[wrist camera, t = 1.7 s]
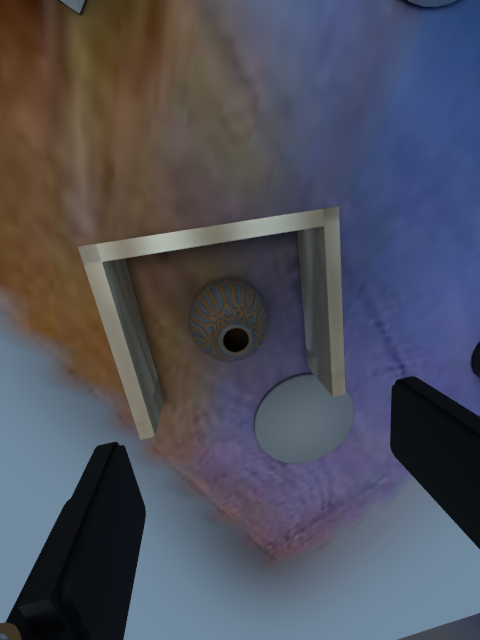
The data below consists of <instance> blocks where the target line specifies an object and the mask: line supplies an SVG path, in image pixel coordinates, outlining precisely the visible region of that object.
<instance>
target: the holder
mask: <svg viewBox="0 0 480 640" xmlns="http://www.w3.org/2000/svg"><path fill="white" fill-rule="evenodd" d="M296 230H297V241H298V253H299V266H300V278H301V290H302V303H303V315H304V327H305V340H306V352H307V364H308V368H309V369H310V370H311V371H312V373H313V374H314V375H315V376H316V377H317V379H318V380H319V381H320V382H321V383H322V385H323V386H324V387H325V388H326V389H327V390H328V392H329V393H330V394H331V395H332V396H333V397H334V396H339V395H343V394H345V370H344V341H343V312H342V283H341V253H340V224H339V206H337V207H331V208H325V209H318V210H312V211H305V212H299V213H292V214H286V215H280V216H273V217H267V218H260V219H254V220H247V221H241V222H235V223H228V224H222V225H215V226H209V227H202V228H196V229H190V230H183V231H177V232H170V233H164V234H157V235H151V236H145V237H138V238H132V239H125V240H119V241H112V242H106V243H100V244H93V245H87V246H80V247H78V249H79V252H80V255H81V258H82V261H83V264H84V267H85V270H86V273H87V276H88V279H89V282H90V285H91V289H92V292H93V295H94V298H95V301H96V304H97V307H98V310H99V313H100V316H101V319H102V322H103V325H104V329H105V332H106V335H107V338H108V341H109V344H110V347H111V350H112V353H113V356H114V359H115V362H116V365H117V368H118V372H119V375H120V378H121V381H122V384H123V387H124V390H125V393H126V396H127V399H128V402H129V405H130V408H131V411H132V415H133V418H134V421H135V424H136V427H137V430H138V433H139V436H140V439H141V440H142V439H147V438H151V437H155V434H156V430H157V425H158V420H159V416H160V411H161V406H162V402H163V394H162V390H161V387H160V383H159V379H158V376H157V372H156V369H155V365H154V361H153V358H152V354H151V350H150V347H149V343H148V340H147V336H146V332H145V329H144V325H143V322H142V318H141V314H140V311H139V307H138V303H137V300H136V296H135V293H134V289H133V285H132V282H131V278H130V275H129V271H128V267H127V264H126V260H125V258H130V257H136V256H142V255H148V254H154V253H161V252H167V251H173V250H179V249H185V248H191V247H198V246H204V245H210V244H216V243H222V242H228V241H235V240H241V239H247V238H253V237H259V236H266V235H272V234H278V233H284V232H290V231H296Z"/></svg>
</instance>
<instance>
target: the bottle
mask: <svg viewBox="0 0 480 640" xmlns="http://www.w3.org/2000/svg"><path fill="white" fill-rule="evenodd" d="M473 369H474V372H475V373H476V374H477V375H478V376H479V377H480V344H479V346H478V347H477V349H476V351H475V353H474V356H473Z"/></svg>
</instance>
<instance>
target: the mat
mask: <svg viewBox="0 0 480 640" xmlns="http://www.w3.org/2000/svg"><path fill="white" fill-rule="evenodd" d="M353 417H354V406H353V402H352V399H351V396H350V394H349V393H348V391H347V390H346V389H345V394H343V395H339V396H334V397H333V396H332V395H331V394H330V393H329V392H328V390H327V389H326V388H325V387H324V386H323V385H322V383H321V382H320V381H319V380H318V379H317V377H316V376H315V375H314V374H313V373H305V374H299V375H295V376H292V377H289V378H287V379H285V380H283V381H281V382H280V383H278V384H277V385H275V386H274V387H273V388H272V389H271V390H269V392H268V393H267V394H266V395H265V396H264V397H263V399H262V400H261V402H260V404H259V406H258V408H257V411H256V414H255V418H254V430H255V434H256V438H257V440H258V443H259V445H260V446H261V448H262V449H263V450H264V451H265V452H266V453H267V454H268V455H269V456H271V457H272V458H274V459H276V460H278V461H281V462H285V463H294V464H298V463H306V462H311V461H314V460H317V459H319V458H322V457H323V456H325V455H327V454H329V453H330V452H332V451H333V450H334V449H335V448H336V447H337V446H338V445H339V444H340V443H341V442H342V441H343V440H344V439H345V437H346V436H347V434H348V432H349V430H350V428H351V425H352V422H353Z"/></svg>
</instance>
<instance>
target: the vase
mask: <svg viewBox="0 0 480 640" xmlns="http://www.w3.org/2000/svg"><path fill="white" fill-rule="evenodd" d="M188 326H189V331H190V334H191V336H192V339H193V340H194V342H195V343H196V345H197V346H198V347H199V348H200V349H201V350H202V351H203V352H204V353H205V354H207V355H208V356H210V357H212V358H214V359H216V360H220V361H226V362H232V361H239V360H242V359H245V358H247V357H249V356H250V355H252V354H253V353H254V352H256V351H257V350H258V349H259V347H260V346H261V345H262V343H263V342H264V340H265V338H266V335H267V332H268V327H269V315H268V310H267V307H266V304H265V302H264V300H263V298H262V297H261V296H260V294H259V293H258V292H257V291H256V290H255V289H254V288H253V287H251V286H250V285H248V284H246V283H244V282H242V281H239V280H235V279H220V280H216V281H213V282H211V283H209V284H207V285H206V286H204V287H203V288H202V289H201V290H200V291H199V292H198V293H197V294H196V296H195V297H194V299H193V301H192V303H191V305H190V309H189V313H188Z"/></svg>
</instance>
